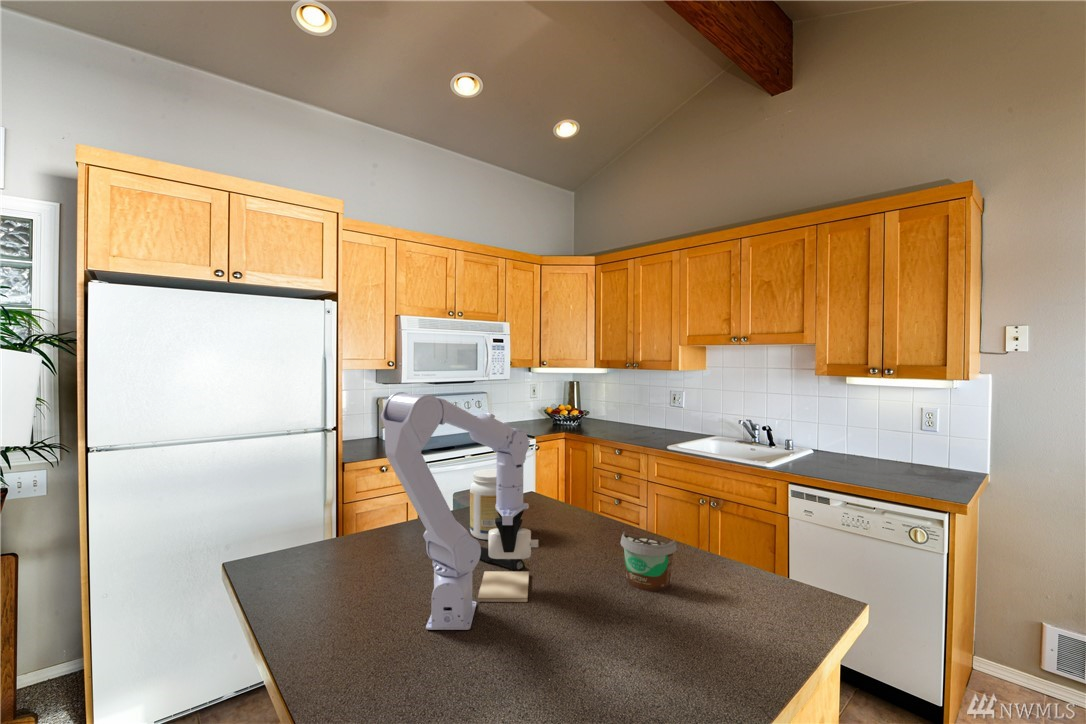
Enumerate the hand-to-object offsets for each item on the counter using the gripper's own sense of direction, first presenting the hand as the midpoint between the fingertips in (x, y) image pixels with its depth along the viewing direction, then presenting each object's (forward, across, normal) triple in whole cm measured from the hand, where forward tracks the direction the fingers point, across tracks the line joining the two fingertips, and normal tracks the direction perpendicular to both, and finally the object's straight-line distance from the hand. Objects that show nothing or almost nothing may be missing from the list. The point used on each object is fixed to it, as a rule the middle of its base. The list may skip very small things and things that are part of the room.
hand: (509, 547), depth 104 cm
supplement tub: (+9, +32, +7) cm, 34 cm away
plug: (+2, 0, 0) cm, 2 cm away
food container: (+9, +1, -29) cm, 30 cm away
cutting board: (+9, 0, +1) cm, 9 cm away
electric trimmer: (+9, +12, +4) cm, 16 cm away
